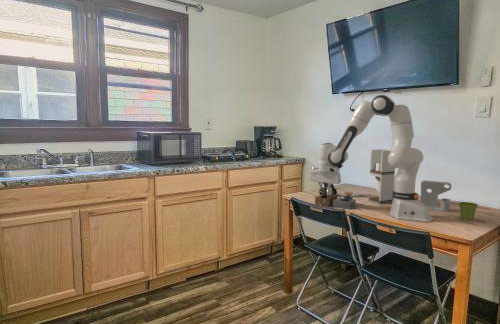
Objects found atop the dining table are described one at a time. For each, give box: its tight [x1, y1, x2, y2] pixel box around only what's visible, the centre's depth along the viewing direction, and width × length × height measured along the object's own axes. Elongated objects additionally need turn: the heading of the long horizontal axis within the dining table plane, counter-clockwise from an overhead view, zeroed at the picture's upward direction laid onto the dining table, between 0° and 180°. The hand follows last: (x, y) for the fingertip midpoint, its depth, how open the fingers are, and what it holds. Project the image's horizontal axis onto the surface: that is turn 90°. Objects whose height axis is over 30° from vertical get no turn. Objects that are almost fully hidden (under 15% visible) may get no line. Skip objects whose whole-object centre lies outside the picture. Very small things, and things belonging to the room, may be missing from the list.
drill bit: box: [321, 182, 327, 199], centre depth 220 cm, size 3×3×12 cm
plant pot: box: [458, 201, 479, 221], centre depth 190 cm, size 9×9×9 cm
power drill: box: [318, 164, 344, 196], centre depth 247 cm, size 8×19×25 cm, turn 111°
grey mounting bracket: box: [420, 179, 452, 213], centre depth 211 cm, size 17×10×18 cm, turn 55°
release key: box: [344, 191, 354, 197], centre depth 223 cm, size 4×4×7 cm
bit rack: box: [314, 194, 338, 208], centre depth 223 cm, size 9×16×5 cm, turn 146°
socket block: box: [332, 194, 357, 210], centre depth 219 cm, size 11×16×5 cm
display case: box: [367, 148, 396, 205], centre depth 228 cm, size 11×11×35 cm
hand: (324, 189), depth 219 cm, fingers closed on drill bit, 3 cm apart
